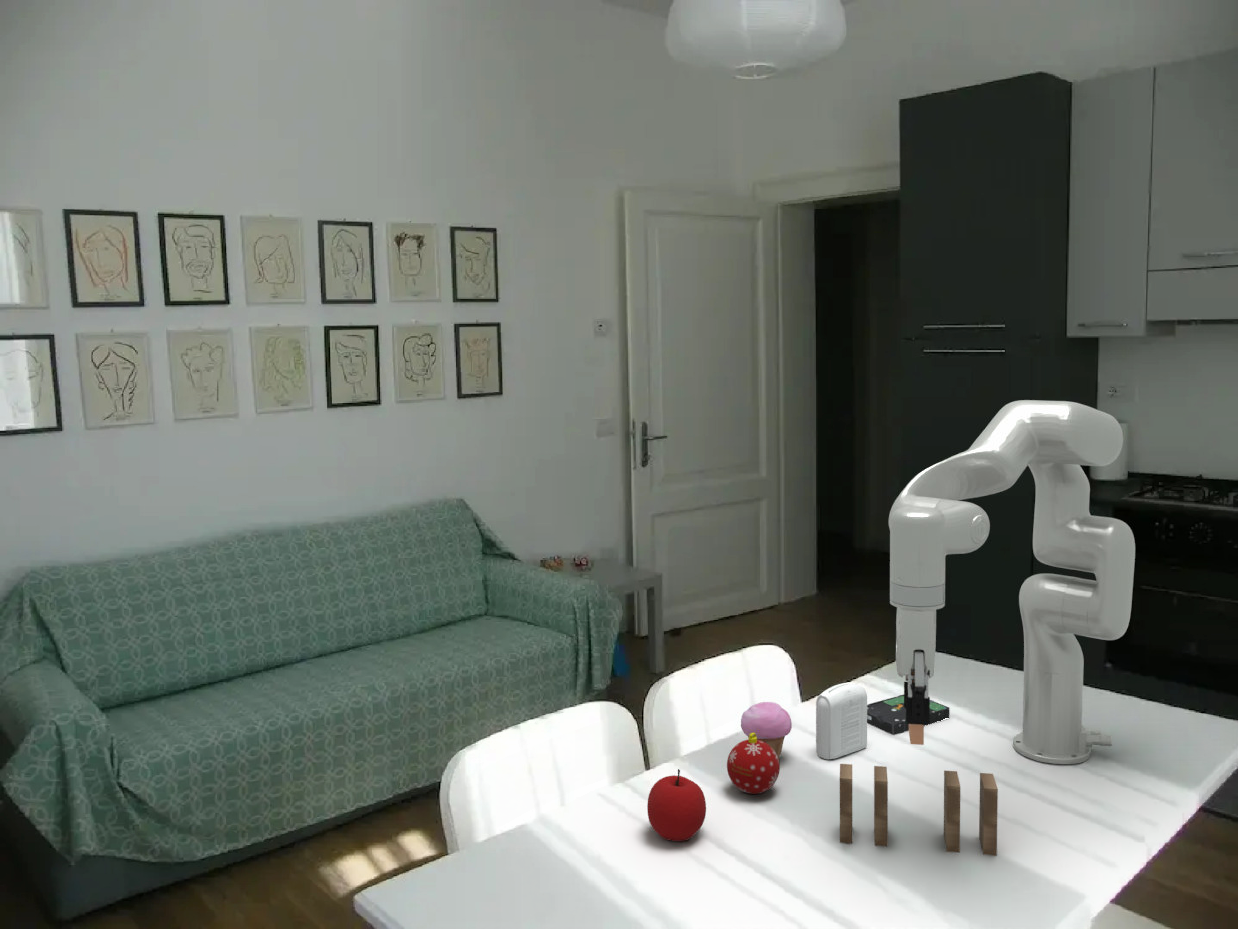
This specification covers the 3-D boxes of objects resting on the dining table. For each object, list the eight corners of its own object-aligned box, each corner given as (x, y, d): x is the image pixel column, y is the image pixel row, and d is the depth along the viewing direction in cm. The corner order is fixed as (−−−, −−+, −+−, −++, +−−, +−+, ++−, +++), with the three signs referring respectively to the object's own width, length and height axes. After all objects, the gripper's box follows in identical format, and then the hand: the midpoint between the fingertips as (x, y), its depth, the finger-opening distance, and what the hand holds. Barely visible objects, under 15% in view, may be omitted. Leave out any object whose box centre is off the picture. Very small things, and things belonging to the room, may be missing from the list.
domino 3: (921, 731, 146) (921, 665, 145) (923, 745, 141) (924, 677, 140) (908, 730, 147) (908, 665, 145) (910, 744, 142) (910, 676, 140)
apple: (637, 827, 153) (635, 765, 151) (689, 814, 156) (688, 754, 155) (663, 855, 144) (661, 790, 143) (718, 841, 148) (716, 777, 146)
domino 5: (991, 838, 146) (993, 773, 145) (996, 855, 141) (997, 789, 140) (979, 837, 146) (979, 773, 145) (983, 854, 141) (984, 788, 140)
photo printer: (853, 740, 182) (852, 675, 180) (870, 748, 178) (870, 682, 177) (812, 755, 176) (811, 688, 175) (829, 763, 173) (829, 695, 171)
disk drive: (894, 739, 184) (950, 720, 191) (894, 724, 183) (950, 706, 190) (855, 721, 193) (910, 704, 200) (854, 707, 192) (910, 690, 199)
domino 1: (852, 827, 150) (852, 764, 149) (852, 843, 146) (852, 779, 144) (840, 826, 151) (840, 763, 150) (839, 842, 146) (839, 778, 145)
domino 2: (886, 829, 149) (886, 766, 148) (887, 846, 144) (887, 781, 143) (874, 828, 150) (874, 766, 148) (874, 845, 145) (874, 780, 144)
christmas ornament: (716, 789, 164) (715, 732, 163) (754, 774, 169) (753, 718, 168) (752, 808, 157) (751, 748, 156) (790, 792, 162) (790, 734, 161)
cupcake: (790, 748, 179) (789, 695, 178) (793, 769, 171) (793, 713, 170) (740, 748, 180) (739, 695, 179) (741, 768, 172) (740, 713, 170)
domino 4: (956, 835, 147) (956, 771, 146) (959, 852, 142) (960, 786, 141) (943, 834, 147) (944, 770, 146) (946, 851, 143) (947, 785, 141)
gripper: (888, 578, 150) (887, 693, 153) (892, 609, 134) (891, 738, 136) (939, 579, 148) (938, 696, 151) (950, 611, 132) (948, 741, 134)
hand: (916, 714), depth 143 cm, fingers closed on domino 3, 4 cm apart
